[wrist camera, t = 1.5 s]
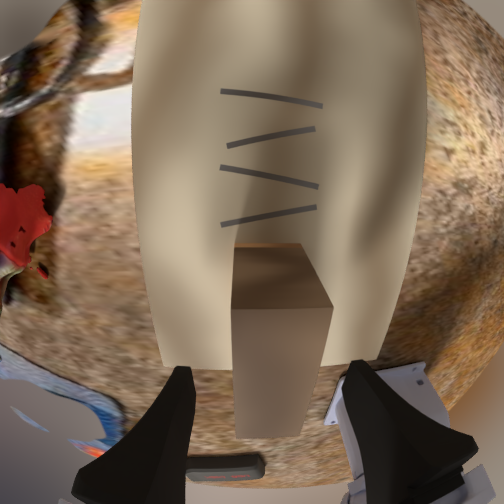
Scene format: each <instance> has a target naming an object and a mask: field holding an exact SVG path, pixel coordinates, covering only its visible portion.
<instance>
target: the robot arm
mask: <svg viewBox="0 0 504 504" xmlns="http://www.w3.org/2000/svg"><path fill="white" fill-rule="evenodd" d="M425 366H426V364H425V362H418V363H414V364H410V365H405V366H401V367H396V368H391V369H385V370H380V371H374V370H373V369H372V368H371V367H370V366H369V365H368V364H367V363H366V362H365V361H364V360H363V359H360V360H352V361H351V363H350V366H349V368H348V371H347V374H346V376H344V377H342V378H341V379H340V380H339V383H338V385H337V388H336V391H335V393H334V396H333V399H332V401H331V404H330V406H329V409H328V411H327V414H326V416H325V419H324V421H323V422H324V425H332V424H339V428H340V431H341V435H342V438H343V442H344V445H345V449H346V453H347V456H348V460H349V464H350V467H351V471H352V475H353V479H354V481H353V482H351V483H348V489H349V492H347V493H346V494H345V495H344V496H343V499H342V501H341V504H487V503H489V502H490V501H491V500H492V499H494V498H495V497H496V494H495V492H494V489H493V487H492V484H491V482H490V480H489V478H488V475H487V473H486V471H485V469H484V467H483V465H482V464H480V465H479V466H477V467H476V468H474V469H473V470H471V471H470V472H468V473H467V474H464V472H463V467H462V465H463V464H464V463H466V462H467V461H468V460H469V459H470V458H472V457H473V456H474V455H475V454H476V453H477V452H478V449H479V448H478V446H477V444H476V442H475V441H474V439H473V437H472V436H470V435H467V434H464V433H461V432H458V431H455V430H453V429H451V428H450V420H449V415H448V412H447V410H446V408H445V406H444V404H443V402H442V401H441V399H440V397H439V396H438V394H437V392H436V391H435V389H434V387H433V386H432V384H431V382H430V381H429V379H428V377H427V376H426V374H425V373H424V371H423V370H424V368H425ZM195 404H196V391H195V386H194V381H193V376H192V371H191V366H176V367H175V368H174V370H173V372H172V374H171V376H170V378H169V379H168V381H167V383H166V384H165V386H164V388H163V389H162V391H161V392H160V394H159V395H158V397H157V398H156V400H155V401H154V403H153V404H152V405H151V407H150V408H149V409H148V410H147V412H146V413H145V414H144V416H143V417H142V418H141V419H140V420H139V422H138V423H137V424H136V425H135V426H134V427H133V428H132V429H131V430H130V431H129V432H128V433H127V434H126V435H125V436H124V437H123V438H122V439H121V440H120V441H119V442H118V443H117V444H115V445H114V446H113V447H112V448H110V449H109V450H108V451H107V452H105V453H104V454H103V455H101V456H100V457H98V458H97V459H95V460H94V461H92V462H91V463H89V464H87V465H86V466H84V467H82V468H81V469H79V471H78V473H77V475H76V478H75V481H74V484H73V487H72V491H71V493H72V495H73V496H74V497H76V498H77V499H79V500H80V501H82V502H84V503H86V504H185V482H186V461H187V453H188V447H189V442H190V436H191V431H192V426H193V420H194V415H195ZM58 504H73V503H70V502H68V501H66V500H63V499H59V502H58Z"/></svg>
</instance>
